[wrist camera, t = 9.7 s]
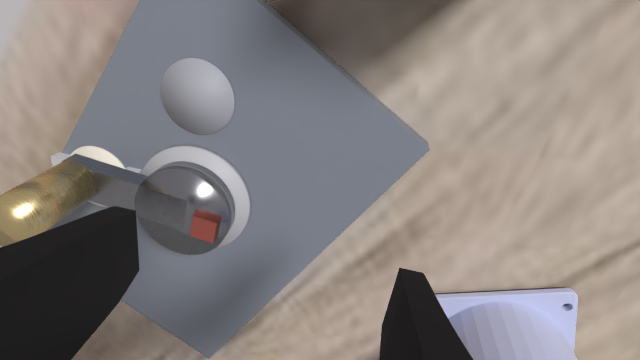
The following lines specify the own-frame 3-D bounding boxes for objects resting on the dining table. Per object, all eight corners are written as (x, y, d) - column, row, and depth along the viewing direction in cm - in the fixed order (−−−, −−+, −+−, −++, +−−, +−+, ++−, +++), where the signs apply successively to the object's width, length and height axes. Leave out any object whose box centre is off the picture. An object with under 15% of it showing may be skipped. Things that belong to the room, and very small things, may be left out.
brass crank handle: (243, 178, 20) (197, 238, 15) (227, 253, 22) (183, 327, 17) (69, 123, 20) (-30, 166, 15) (70, 203, 22) (-15, 263, 17)
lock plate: (427, 142, 19) (431, 154, 18) (214, 346, 28) (205, 366, 26) (183, -70, 17) (164, -75, 16) (31, 223, 25) (10, 237, 24)
